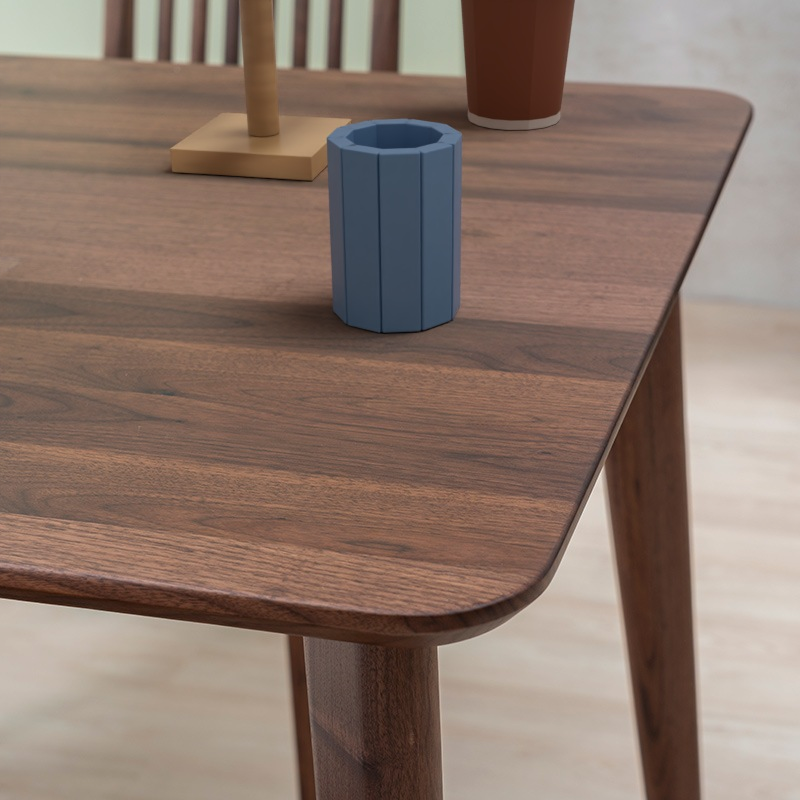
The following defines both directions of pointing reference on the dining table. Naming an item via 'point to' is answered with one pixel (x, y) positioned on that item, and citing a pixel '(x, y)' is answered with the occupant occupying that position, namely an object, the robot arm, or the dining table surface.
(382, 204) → the blue faceted pencil cup
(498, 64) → the coffee cup
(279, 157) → the tape stand
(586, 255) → the dining table surface
